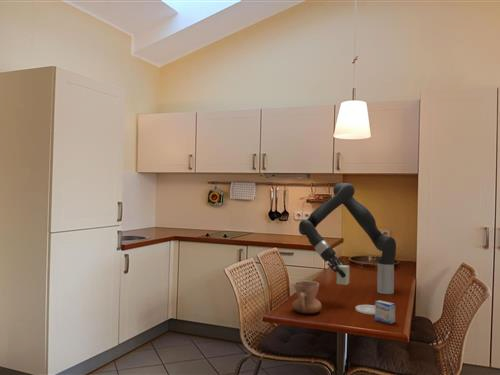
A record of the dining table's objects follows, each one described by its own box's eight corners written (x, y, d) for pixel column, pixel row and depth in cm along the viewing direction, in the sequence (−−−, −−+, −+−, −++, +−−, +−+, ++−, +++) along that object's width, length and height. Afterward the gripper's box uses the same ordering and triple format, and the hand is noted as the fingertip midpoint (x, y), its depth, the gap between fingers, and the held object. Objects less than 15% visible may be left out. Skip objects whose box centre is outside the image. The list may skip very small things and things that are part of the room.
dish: (360, 305, 216) (360, 303, 216) (385, 309, 209) (385, 307, 209) (352, 311, 205) (352, 309, 205) (378, 316, 198) (378, 313, 198)
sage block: (340, 281, 219) (340, 264, 219) (349, 283, 216) (349, 265, 216) (336, 283, 215) (336, 266, 215) (345, 284, 212) (345, 267, 212)
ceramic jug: (298, 305, 215) (298, 278, 215) (325, 308, 209) (325, 280, 209) (286, 315, 199) (286, 286, 199) (315, 319, 193) (315, 289, 193)
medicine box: (374, 320, 192) (374, 301, 192) (379, 318, 195) (379, 299, 195) (390, 324, 187) (390, 305, 187) (395, 322, 190) (395, 303, 190)
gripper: (324, 247, 214) (346, 273, 207) (334, 244, 226) (356, 269, 219) (314, 257, 217) (336, 282, 210) (325, 253, 229) (346, 277, 222)
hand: (346, 275), depth 215 cm, fingers closed on sage block, 5 cm apart
